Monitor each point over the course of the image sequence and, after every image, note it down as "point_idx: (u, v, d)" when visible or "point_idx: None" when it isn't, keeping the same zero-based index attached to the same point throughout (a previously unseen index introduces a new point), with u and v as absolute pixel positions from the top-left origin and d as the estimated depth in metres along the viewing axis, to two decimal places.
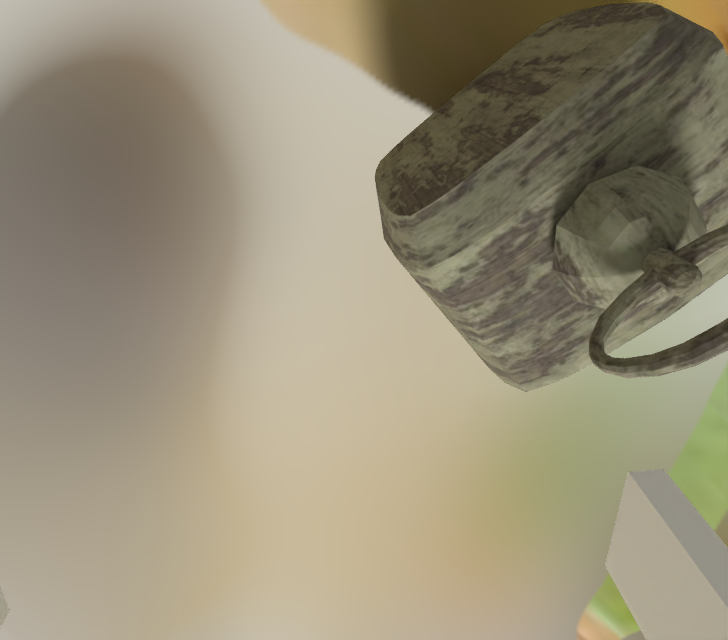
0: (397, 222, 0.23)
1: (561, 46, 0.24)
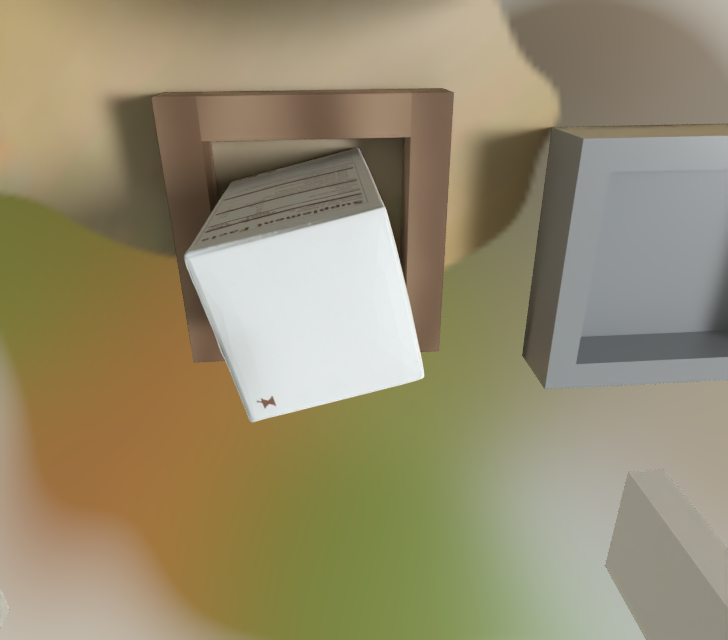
0: None
1: None
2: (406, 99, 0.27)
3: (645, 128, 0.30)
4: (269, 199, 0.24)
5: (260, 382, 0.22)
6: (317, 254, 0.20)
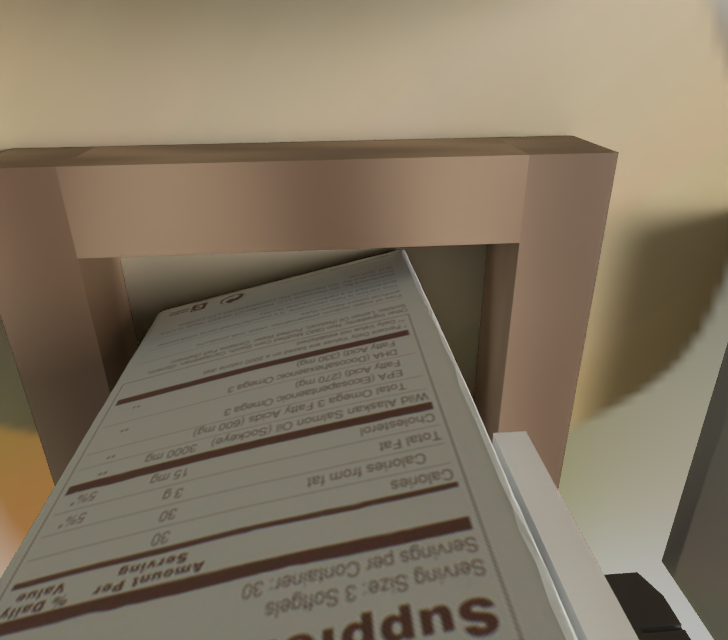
0: None
1: None
2: (517, 168, 0.13)
3: None
4: (205, 451, 0.09)
5: None
6: None
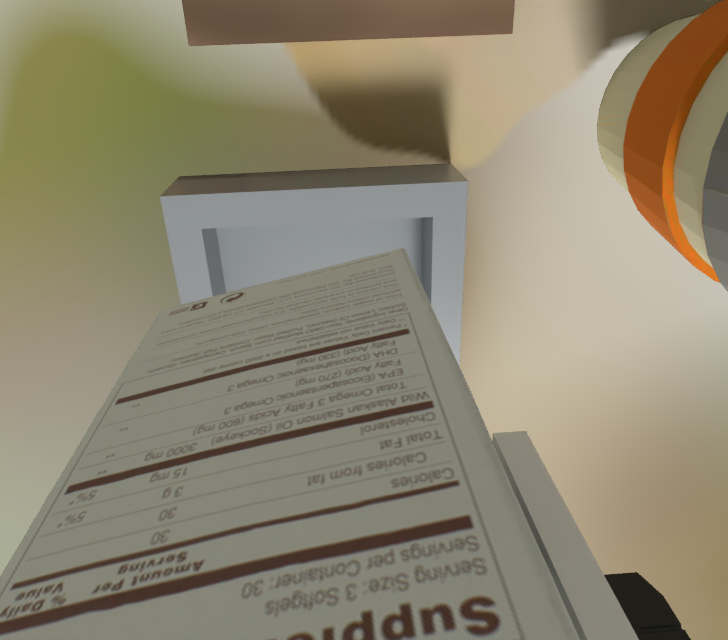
0: None
1: None
2: None
3: None
4: (205, 450, 0.09)
5: None
6: None
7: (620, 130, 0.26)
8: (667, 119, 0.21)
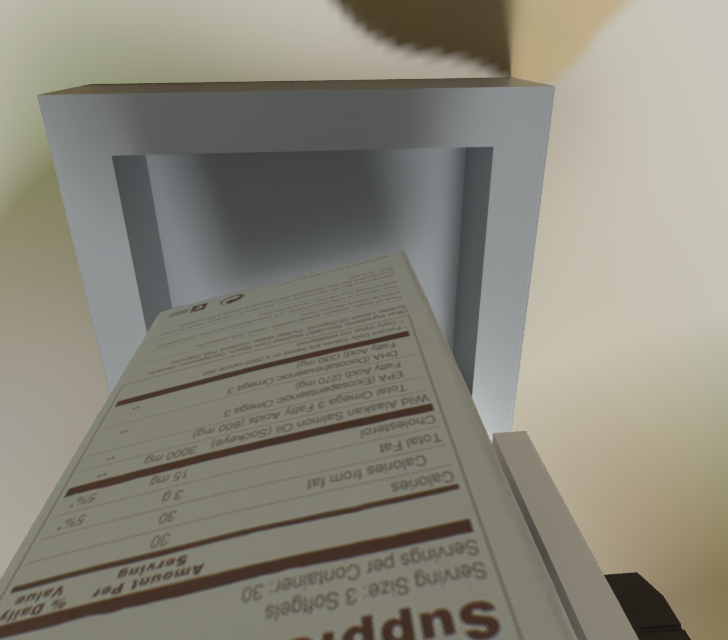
0: None
1: None
2: None
3: None
4: (205, 453, 0.09)
5: None
6: None
7: None
8: None
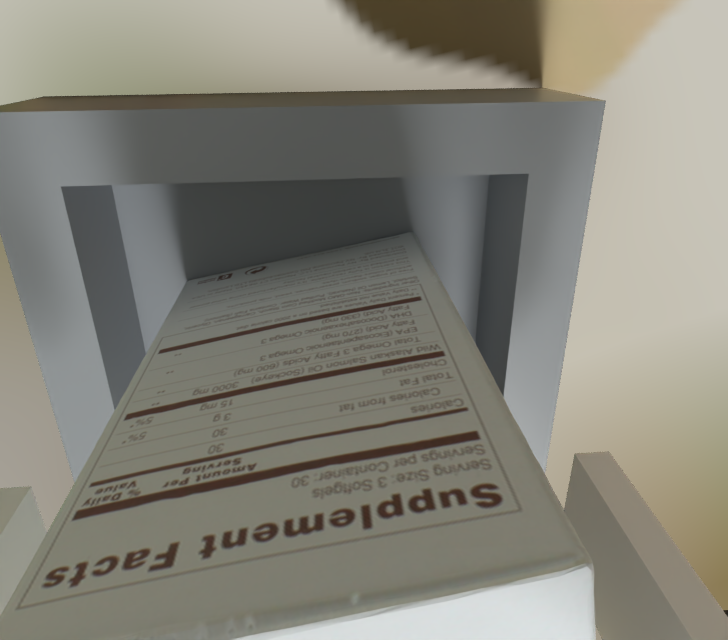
0: None
1: None
2: None
3: None
4: (246, 387, 0.11)
5: None
6: None
7: None
8: None
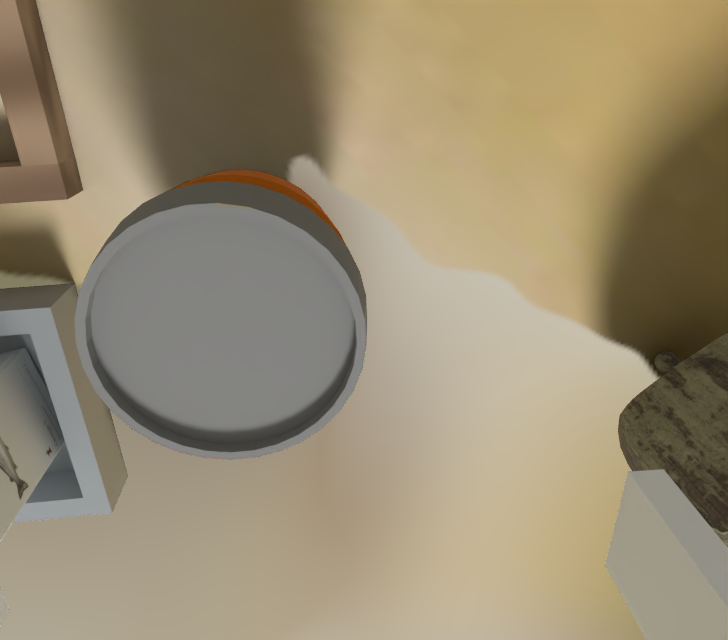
0: None
1: None
2: (51, 159, 0.32)
3: None
4: None
5: None
6: None
7: None
8: None
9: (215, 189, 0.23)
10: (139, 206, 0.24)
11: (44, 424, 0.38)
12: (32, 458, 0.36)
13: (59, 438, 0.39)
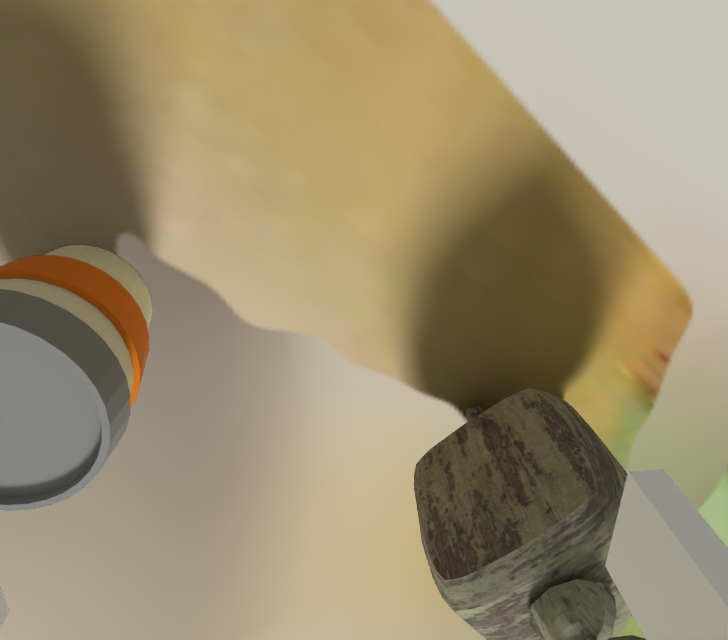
0: (435, 570, 0.37)
1: (537, 447, 0.38)
2: None
3: None
4: None
5: None
6: None
7: None
8: None
9: None
10: None
11: None
12: None
13: None
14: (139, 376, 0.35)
